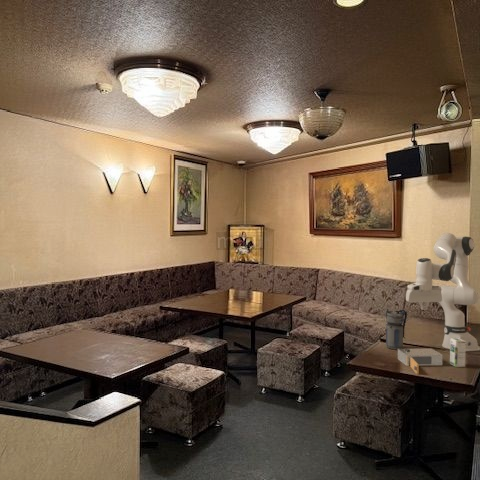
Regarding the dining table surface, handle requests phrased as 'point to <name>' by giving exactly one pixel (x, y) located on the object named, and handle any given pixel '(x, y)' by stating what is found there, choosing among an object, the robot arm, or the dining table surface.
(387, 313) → the beverage bottle
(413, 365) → the side door
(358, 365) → the dining table surface
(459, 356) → the syrup box
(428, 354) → the grey box
